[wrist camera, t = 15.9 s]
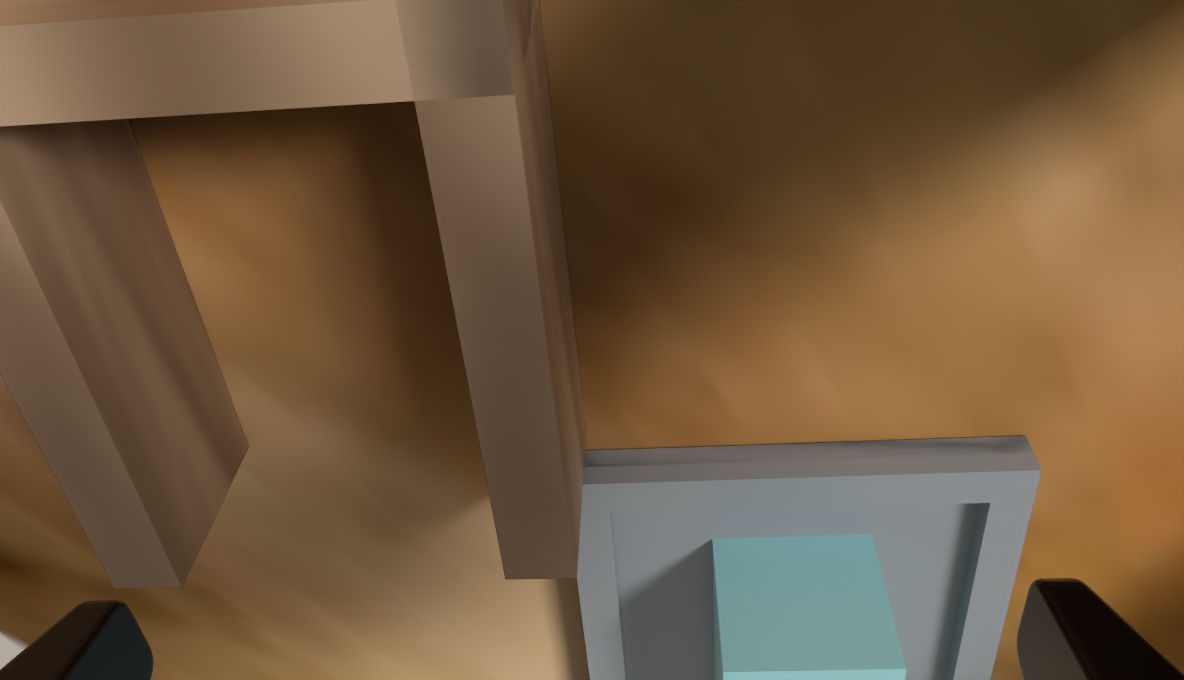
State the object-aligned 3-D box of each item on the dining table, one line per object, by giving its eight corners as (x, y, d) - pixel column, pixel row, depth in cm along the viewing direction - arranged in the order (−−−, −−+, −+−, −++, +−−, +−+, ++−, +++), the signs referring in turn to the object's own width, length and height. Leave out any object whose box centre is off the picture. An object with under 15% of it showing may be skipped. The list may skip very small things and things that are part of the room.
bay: (530, -86, 17) (501, -10, 14) (585, 434, 24) (576, 577, 21) (-13, -45, 18) (-177, 37, 15) (190, 449, 25) (114, 589, 22)
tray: (1025, 435, 24) (1041, 469, 23) (954, 749, 31) (964, 785, 30) (567, 451, 25) (564, 485, 24) (605, 753, 32) (603, 788, 31)
